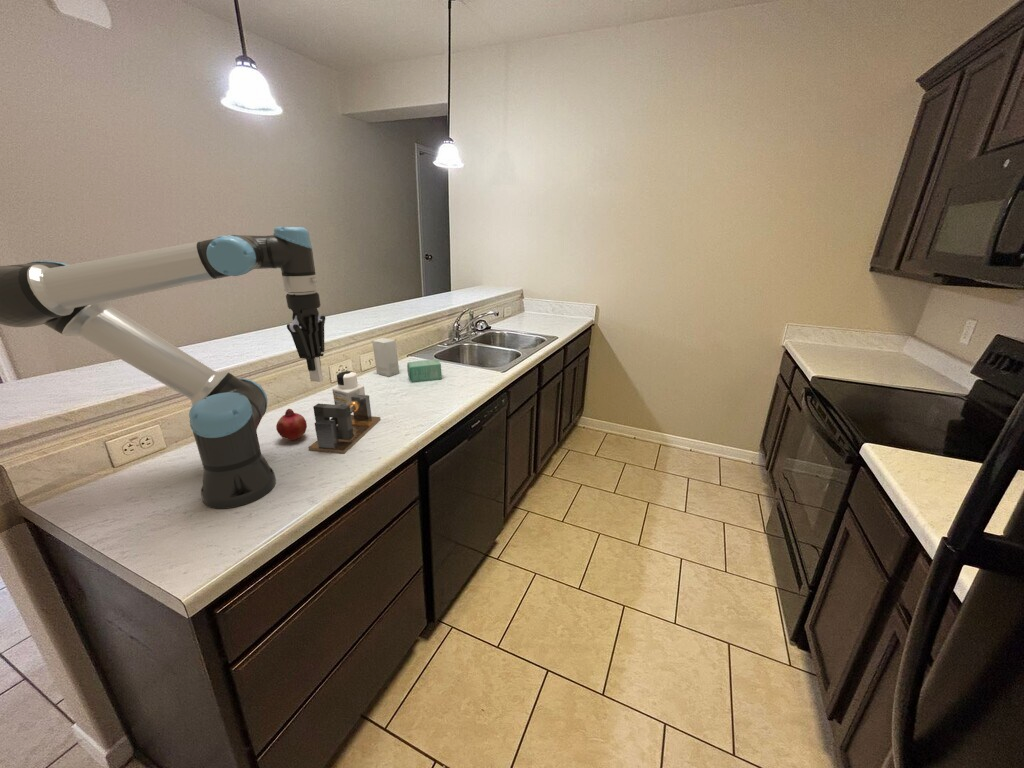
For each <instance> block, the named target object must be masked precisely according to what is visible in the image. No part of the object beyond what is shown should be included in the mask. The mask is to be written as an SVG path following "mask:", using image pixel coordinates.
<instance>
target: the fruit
mask: <svg viewBox="0 0 1024 768" xmlns="http://www.w3.org/2000/svg"><path fill="white" fill-rule="evenodd" d="M275 427H276V431H277V434H278V435H279V436H280V437H282V438H284V439H287V440H289V441H295V440H298V439H299V438H301V437H302V436H303V435H304V434H306V431H307V427H308V425H307V420H306V418H305V417H304V416H303V415H302V414H300V413H297V412H294V410H293V409H291V408H288V409H286V411H285V413H284V415H282V416H281V417H280V418H279V419H278V421H277V423H276V426H275Z"/></svg>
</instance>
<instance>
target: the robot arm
mask: <svg viewBox="0 0 1024 768" xmlns="http://www.w3.org/2000/svg"><path fill="white" fill-rule="evenodd" d="M315 266H316V265H315V259H314V253H313V246H312V242H311V238H310V232H309V230H307V228H305V227H303V226H276V227H274V229H273V235H252V234H251V235H250V234H249V235H246V234H245V235H242V234H241V235H239V234H227V235H218V236H217V237H215V238H212V239H211V238H210V239H206V240H201V241H194V242H188V243H183V244H178V245H173V246H172V245H171V246H166V247H162V248H156V249H149V250H145V251H144V250H143V251H139V252H134V253H128V254H122V255H116V256H111V257H105V258H98V259H95V260H89V261H83V262H78V263H77V262H76V263H73V264H68V263H65V262H58V261H49V260H48V261H47V260H39V261H38V260H37V261H30V262H27V263H21V264H19V263H18V264H11V265H0V325H3V326H6V327H13V328H30V327H37V326H41V325H45V326H46V327H48V328H50V329H52V330H54V331H56V332H57V333H58V334H61V335H63V336H65V337H67V336H68V337H75V336H76V337H81V338H83V339H85V340H86V341H88V342H90V343H92V344H93V345H95V346H97V347H99V348H100V349H102V350H104V351H105V352H108V353H110V354H111V355H113V356H114V357H116V358H118V359H119V360H121V361H123V362H124V363H127V364H128V365H130V366H132V367H134V368H135V369H137V370H138V371H141V372H142V373H144V374H146V375H147V376H149V377H151V378H153V379H155V380H156V381H158V382H159V383H161V384H163V385H165V386H167V387H168V388H170V389H172V390H173V391H175V392H177V393H179V394H181V395H182V396H183V397H186V398H187V399H189V400H190V402H191V405H192V406H191V408H190V409H189V411H188V412H189V413H188V416H189V426H190V429H191V430H192V434H193V437H194V440H195V444H196V447H197V450H198V454H199V457H200V461H201V464H202V467H203V477H202V487H201V491H200V495H201V498H202V501H203V504H204V505H205V506H207V507H209V508H213V509H231V508H237V507H240V506H244V505H246V504H249V503H252V502H254V501H257V500H258V499H261V498H262V497H264V496H265V495H267V494H268V493H269V492H271V490H273V489H274V487H275V485H276V482H277V480H276V475H275V472H274V470H273V468H272V467H270V465H269V463H268V461H267V460H266V459H265V457H264V456H263V454H262V451H261V446H260V441H259V437H258V433H257V430H258V427H259V425H260V423H261V421H262V419H263V417H264V416H265V414H266V411H267V409H268V396H267V393H266V391H265V389H264V388H263V387H262V386H261V385H260V384H259V383H258V382H256V381H254V380H251V379H250V378H238V377H237V376H236V375H233V374H232V373H230V372H229V371H219V372H218V371H215V370H214V369H212V368H210V367H209V366H208V365H206V364H204V363H203V362H202V361H199V360H198V359H196V358H195V357H193V356H191V354H189V353H187V352H185V351H183V350H181V349H180V348H179V347H177V346H176V345H174V344H172V343H170V342H169V341H167V340H166V339H164V338H163V337H161V336H159V335H158V334H156V333H155V332H153V331H152V330H150V329H149V328H147V327H145V326H143V325H142V324H140V323H139V322H137V321H135V320H134V319H132V318H130V317H129V316H128V315H126V314H125V313H123V312H121V311H119V310H118V309H116V308H114V307H113V304H112V301H114V300H119V299H124V298H128V297H129V298H130V297H134V296H139V295H143V294H149V293H155V292H159V291H163V290H169V289H173V288H179V287H183V286H187V285H192V284H197V283H201V282H202V283H203V282H206V281H212V280H217V279H223V278H226V277H239V276H243V275H246V274H248V273H250V272H251V271H253V270H260V269H261V270H263V269H280V271H281V278H282V283H283V288H284V289H283V290H284V292H286V293H287V294H286V295H285V300H286V304H287V309H289V310H291V311H292V317H291V318H292V322H291V323H288V324H286V328H287V330H288V332H289V333H290V336H291V337H292V341H293V344H294V347H295V349H296V352H297V355H298V356H299V358H300V359H302V360H303V359H305V360H306V364H307V370H308V372H309V373H308V374H309V379H310V382H315V383H316V382H317V383H320V382H322V381H324V378H323V371H322V362H321V357H324V355H325V354H324V353H325V322H326V315H321V314H320V312H319V310H318V309H319V308H320V307H321V299H320V294H319V292H317V291H318V290H319V288H318V283H317V282H318V281H317V276H316V273H317V272H316V267H315Z"/></svg>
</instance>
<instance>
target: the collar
mask: <svg viewBox="0 0 1024 768" xmlns="http://www.w3.org/2000/svg"><path fill="white" fill-rule="evenodd" d="M312 409H313V414H314V419H315V420H314V421H315V423H316V422H317V421H318V420H330V419H331V418H337V422H338V426H336V427H337V434H338V439H341V440H351V439H352V438H353V437H354V434H353V427H352V420H351V415H352V413H351V412H350V406H344V405H335V404H329V403H319V402H318V403H316V404H315V405H313V407H312Z"/></svg>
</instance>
